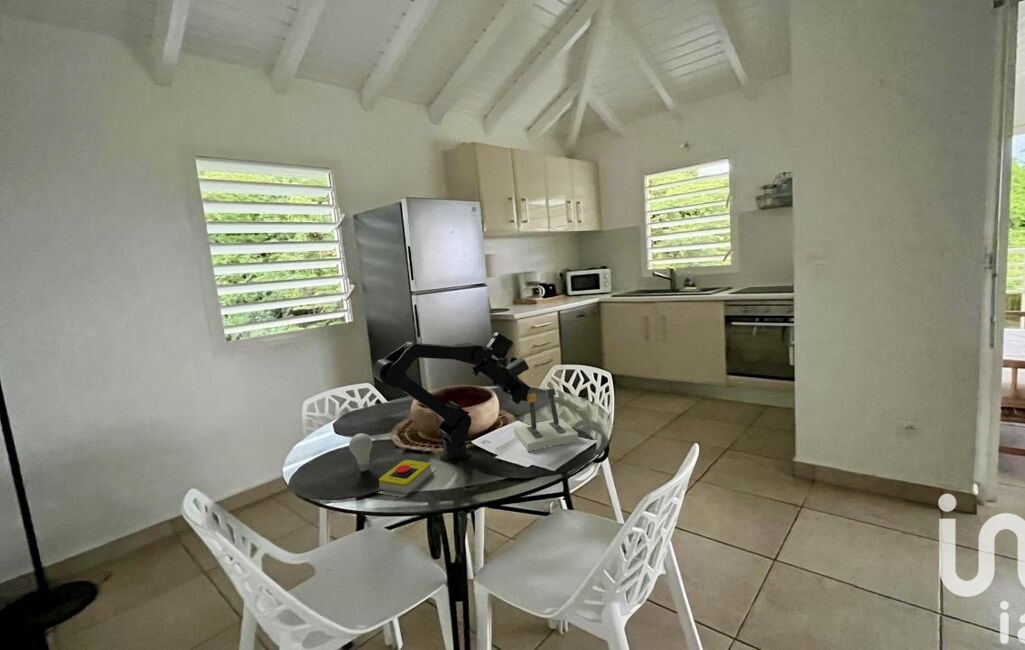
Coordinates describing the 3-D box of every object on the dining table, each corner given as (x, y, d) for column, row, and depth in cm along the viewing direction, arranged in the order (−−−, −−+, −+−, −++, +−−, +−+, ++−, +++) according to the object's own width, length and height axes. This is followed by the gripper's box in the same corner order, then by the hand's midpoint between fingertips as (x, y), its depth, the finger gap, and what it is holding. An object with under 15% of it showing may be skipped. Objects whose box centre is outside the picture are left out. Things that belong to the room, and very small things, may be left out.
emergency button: (372, 478, 110) (408, 451, 123) (374, 494, 111) (410, 465, 124) (401, 483, 106) (436, 455, 120) (404, 499, 107) (437, 470, 120)
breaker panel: (527, 452, 125) (523, 405, 123) (514, 435, 138) (511, 392, 135) (578, 441, 129) (575, 396, 127) (561, 425, 142) (558, 384, 139)
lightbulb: (355, 478, 118) (349, 441, 116) (351, 469, 124) (346, 433, 122) (377, 472, 121) (372, 435, 119) (373, 463, 126) (368, 427, 124)
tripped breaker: (531, 431, 131) (528, 396, 129) (529, 429, 133) (526, 394, 131) (538, 429, 131) (536, 395, 130) (536, 427, 133) (534, 393, 131)
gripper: (520, 357, 122) (559, 388, 127) (502, 345, 140) (537, 373, 145) (496, 388, 121) (536, 418, 126) (481, 372, 139) (517, 399, 144)
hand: (532, 400), depth 135 cm, fingers closed
